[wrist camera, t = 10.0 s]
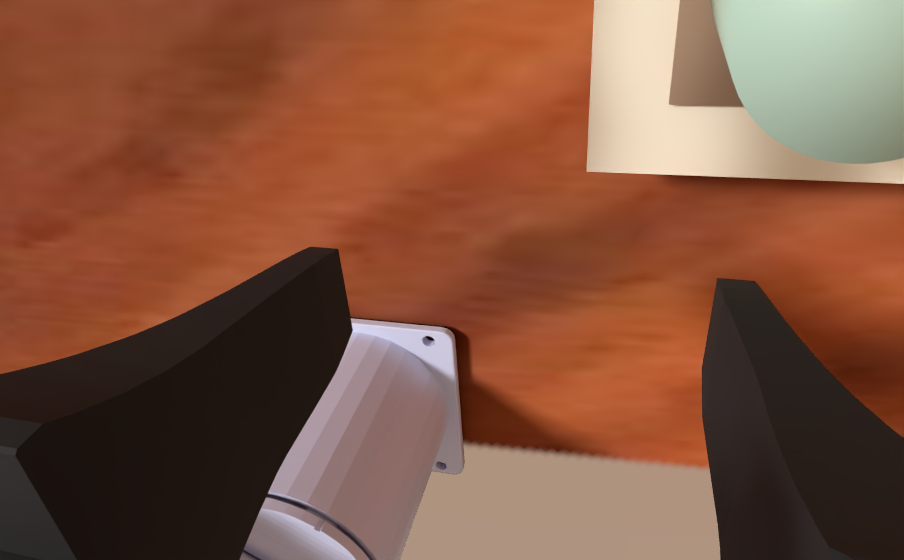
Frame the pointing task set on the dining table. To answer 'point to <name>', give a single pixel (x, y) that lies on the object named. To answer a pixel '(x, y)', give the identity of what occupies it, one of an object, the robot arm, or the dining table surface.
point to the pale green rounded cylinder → (820, 73)
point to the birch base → (684, 103)
